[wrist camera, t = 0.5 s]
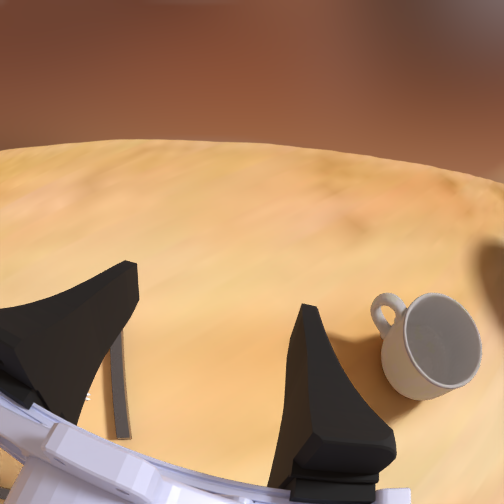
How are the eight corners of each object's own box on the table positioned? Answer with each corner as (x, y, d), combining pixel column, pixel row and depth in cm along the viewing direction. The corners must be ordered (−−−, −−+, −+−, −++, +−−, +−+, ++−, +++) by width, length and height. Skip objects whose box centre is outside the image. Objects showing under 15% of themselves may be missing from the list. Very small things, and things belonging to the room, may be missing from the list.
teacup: (454, 369, 33) (494, 338, 27) (413, 429, 27) (460, 407, 22) (383, 297, 39) (413, 257, 33) (331, 344, 34) (361, 306, 28)
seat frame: (145, 511, 19) (143, 512, 19) (-36, 487, 14) (-41, 486, 13) (122, 318, 32) (120, 313, 31) (-28, 323, 27) (-32, 319, 26)
